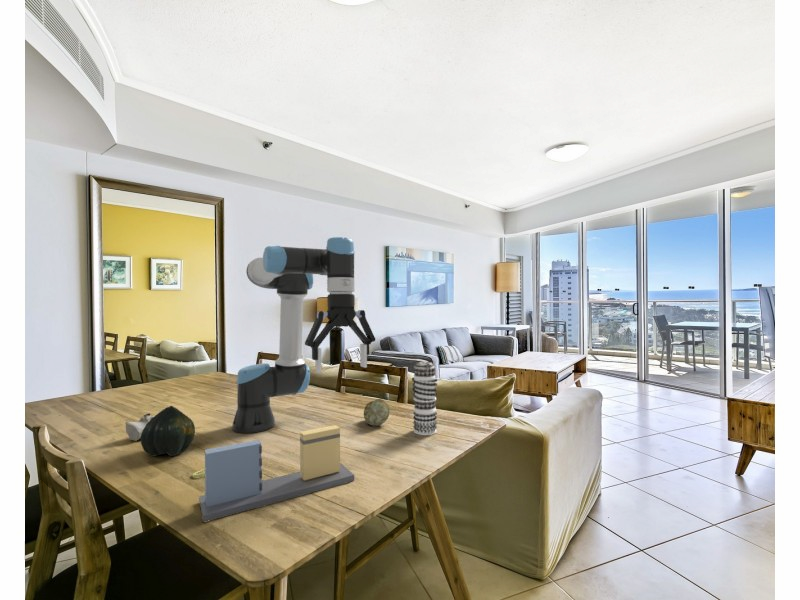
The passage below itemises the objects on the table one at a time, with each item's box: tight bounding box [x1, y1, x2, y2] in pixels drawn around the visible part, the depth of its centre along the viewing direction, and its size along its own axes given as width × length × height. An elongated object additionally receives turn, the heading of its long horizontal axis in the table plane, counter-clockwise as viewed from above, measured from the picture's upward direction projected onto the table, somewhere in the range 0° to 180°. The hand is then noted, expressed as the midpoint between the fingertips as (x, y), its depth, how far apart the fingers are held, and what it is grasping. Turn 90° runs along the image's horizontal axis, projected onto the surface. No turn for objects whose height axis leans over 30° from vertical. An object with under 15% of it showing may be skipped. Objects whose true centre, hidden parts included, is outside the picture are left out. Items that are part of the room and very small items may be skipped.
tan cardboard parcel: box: [299, 424, 341, 481], centre depth 103 cm, size 10×3×12 cm, turn 122°
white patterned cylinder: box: [411, 361, 438, 436], centre depth 141 cm, size 9×9×25 cm
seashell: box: [363, 398, 391, 427], centre depth 151 cm, size 11×11×10 cm
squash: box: [140, 405, 196, 457], centre depth 124 cm, size 14×15×15 cm
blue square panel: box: [204, 439, 263, 507], centre depth 92 cm, size 12×3×12 cm, turn 122°
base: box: [198, 462, 355, 523], centre depth 98 cm, size 36×10×2 cm, turn 122°
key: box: [191, 467, 205, 477], centre depth 108 cm, size 7×12×2 cm, turn 81°
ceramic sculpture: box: [125, 413, 155, 442], centre depth 139 cm, size 11×9×15 cm
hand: (341, 369), depth 108 cm, fingers open, 13 cm apart
